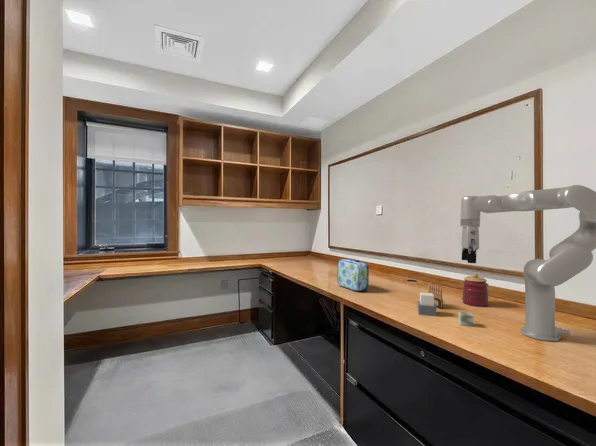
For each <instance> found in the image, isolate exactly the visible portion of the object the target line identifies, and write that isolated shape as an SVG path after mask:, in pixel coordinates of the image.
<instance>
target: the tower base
mask: <svg viewBox="0 0 596 446" xmlns="http://www.w3.org/2000/svg"><path fill="white" fill-rule="evenodd" d="M417 313H418V315H420V316H429V317H437V308H436V305H435V303H434V306H428V305H421V303H420V300H418V301H417Z"/></svg>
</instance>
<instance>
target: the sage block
mask: <svg viewBox="0 0 596 446" xmlns="http://www.w3.org/2000/svg"><path fill="white" fill-rule="evenodd" d="M457 312H458V313H457V315H458V316H457V321H458V322H457V323H459V325H460V326H462V327H474V315H473V314H472V313H471V312H468V311H467V312H466V311H457Z"/></svg>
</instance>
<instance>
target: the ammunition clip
mask: <svg viewBox="0 0 596 446" xmlns="http://www.w3.org/2000/svg"><path fill="white" fill-rule="evenodd" d="M427 293H432V294H433V295H434V303H435V305H436V309H439V310H442V309H444V299H443V288H442V286H440V285H435V284H433V283H430V282H429V284H428V290H427Z"/></svg>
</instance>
